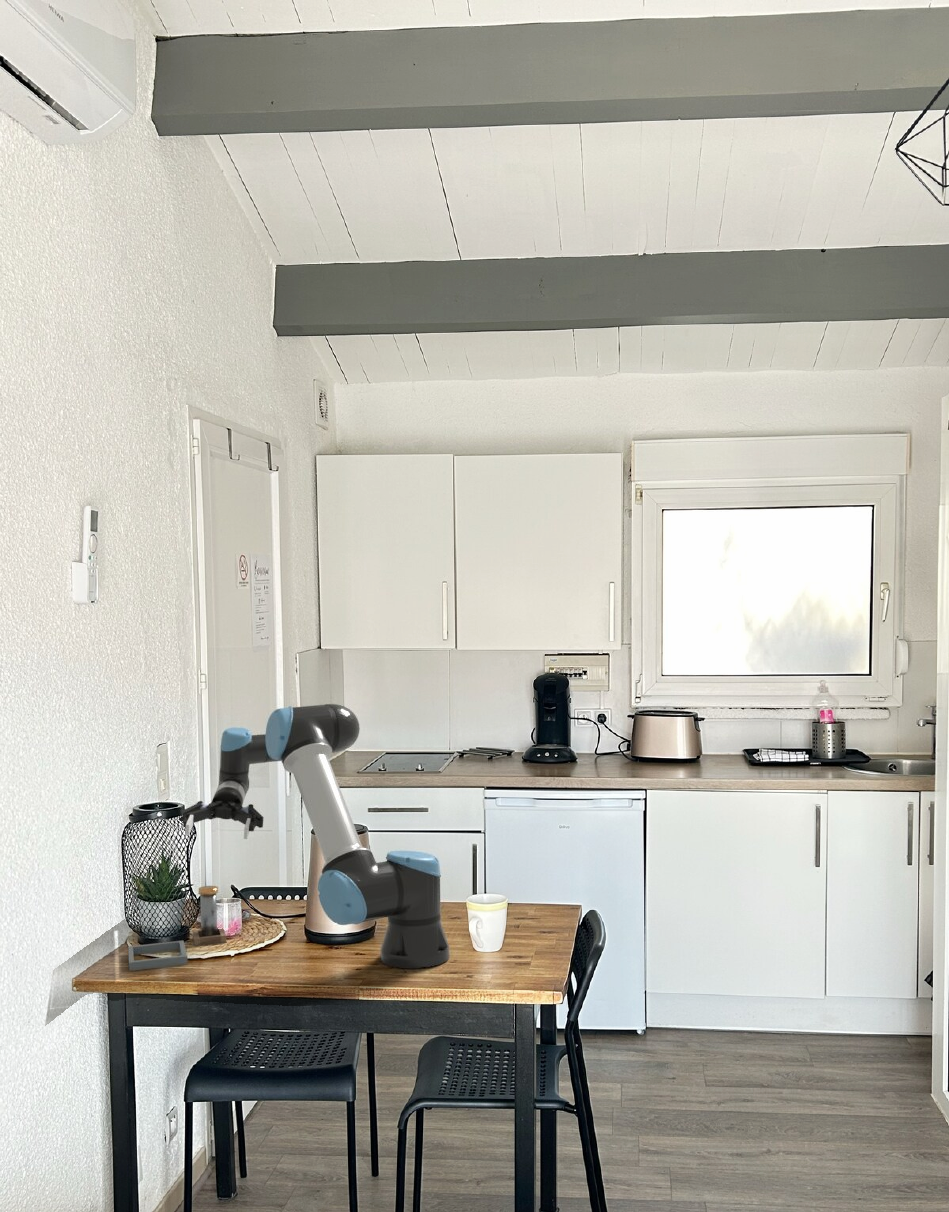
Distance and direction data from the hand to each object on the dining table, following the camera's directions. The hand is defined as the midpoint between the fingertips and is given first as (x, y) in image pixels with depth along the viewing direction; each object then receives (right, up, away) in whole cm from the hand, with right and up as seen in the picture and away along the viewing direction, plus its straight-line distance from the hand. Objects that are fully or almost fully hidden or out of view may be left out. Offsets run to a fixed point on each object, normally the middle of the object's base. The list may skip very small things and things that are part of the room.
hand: (216, 831), depth 267 cm
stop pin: (-1, -24, -5) cm, 24 cm away
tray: (-9, -25, -18) cm, 32 cm away
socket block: (-1, -25, -5) cm, 25 cm away
